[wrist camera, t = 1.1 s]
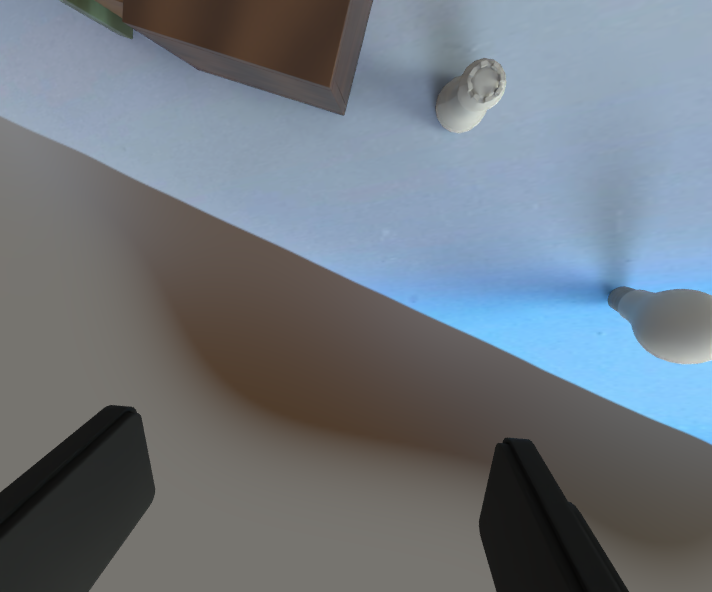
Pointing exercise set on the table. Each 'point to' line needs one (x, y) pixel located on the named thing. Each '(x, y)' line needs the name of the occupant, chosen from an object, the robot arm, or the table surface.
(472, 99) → the rook chess piece
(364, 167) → the table surface
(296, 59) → the cabinet
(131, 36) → the drawer
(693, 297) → the lightbulb
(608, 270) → the table surface
